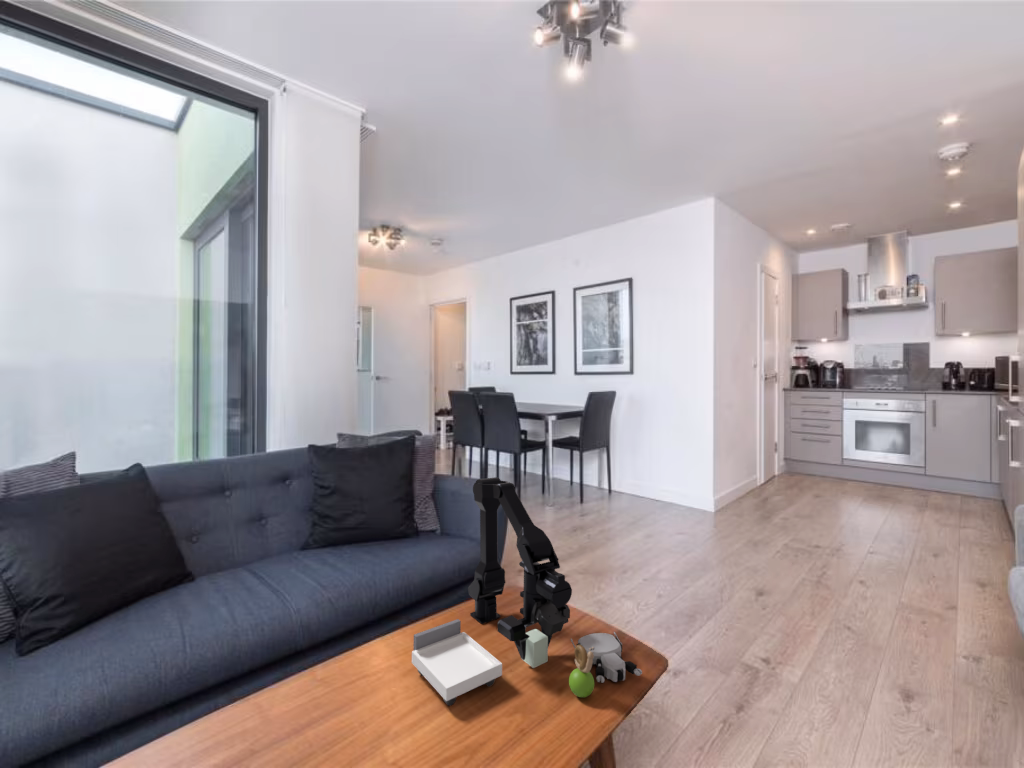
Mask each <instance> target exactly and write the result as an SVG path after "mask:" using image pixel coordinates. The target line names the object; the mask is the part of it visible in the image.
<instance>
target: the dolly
mask: <svg viewBox="0 0 1024 768" xmlns="http://www.w3.org/2000/svg"><path fill="white" fill-rule="evenodd" d="M461 624H462V623H461V620H460V619H459V618H457V619H454V620H451V621H449V622H445V623H444V624H440V625H438V626H434V627H431V628H429V629H426V630H424V631H420V632H417V633H415V634H413V650H412V651H411V664H412V665H413V666H414V667H415V668H416V669H417V673H418V674H419V675H420V676H422V677H424V678H425V679H426V681H428V683H429V684H430V685H431V686H432V688H434V689H435V690H436V692H437V693H438V694H439V695H440V696H441V697H442V698H443V701H444V702H445V704H446V705H447V706H449V707H450V706H452V705H454V704H455V703H456V700H457V697H458V696H461V695H463V694H466V693H467V692H469V691H472V690H475V689H476V688H478V687H480V686H482V685H486V686H487V687H493V685H494V684H495V682H496V679H497V678H499V677H501V676H503V663H502V662H501V661H500V660H499V659H497V658H496V656H494V655H492V654H491V652H489V651H488V650H487V649H486V648H484V647H483V646H482V645H481V644H479V643H478V642H477V641H476V640H475V639H473V638H472V637H471V636H470V635H469V634H468V633H466V632H465V631H463V632H461Z"/></svg>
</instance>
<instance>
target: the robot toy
mask: <svg viewBox="0 0 1024 768" xmlns="http://www.w3.org/2000/svg"><path fill="white" fill-rule="evenodd" d="M613 634H614V635H613ZM613 634H610V633H608V632H607V633H605V632H595V633H590V634H587V635H584V636H582V637H579V639H578V640H577V643H576V644H574V641H573V638H570V642H571V643H572V646H573V648H574V649H575V647H576V646H577V645H582V646H583V647H584V648H585V649H586V651H587V654H588V652H589V651H590V650H589V649H590V648H592V647H594V651H593V650H592V651H591V652H593V654H594V657H593V663H592V665H596V668H595V679H596V682H597V683H605V678H606V679H607V680H611V681H612V682H614V683H618V682H622V681H623V682H624V681H625V680H626V672H628V673H630V675H635V676H639V677H640V676H641V675H643V670H641V669H640V668H638V666H637V664H635V663H633V662H632V661H625V660H623V657H622V652H623V642H621V640H620V639H619V638H618V635H617V633H616V632H615V631H613Z"/></svg>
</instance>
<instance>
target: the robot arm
mask: <svg viewBox="0 0 1024 768" xmlns="http://www.w3.org/2000/svg"><path fill="white" fill-rule="evenodd" d="M514 484H515V483H512V482H510V481H507V480H501V479H500V477H498V476H497V477H496V476H495V477H488V478H478V479H477V480H476V481H475V482H474V483H473V485H472V493H473V500H474V502H475V504H476V506H477V507H478V508H479V516H480V517H479V523H480V524H479V525H480V526H479V530H480V531H479V533H480V534H479V535H480V536H479V537H480V538H479V539H480V543H479V545H480V546H479V547H480V554H479V555H480V557H479V559H480V561H479V563H478V564H477V566H476V568H475V570H474V579H473V581H472V582H471V583H470V584H469V585H468V587H467V590H468V596H469V597H471V598H472V600H474V611H472V612H470V616H471V617H472V618H473V619H475V620H476V621H477V622H478V623H480V624H481V625H484V624H486V623H490V622H491V621H495V620H497V619H499V620H498V621H497V632H498V633H499V634H500V635H502V636H503V637H505V638H506V639H507V640H508V641H510V642H513V643H514V644H515V646H516V650H517V652H518V655H519V657H520V659H521V658H522V659H523V660H525V656H526V640H527V639H528V638H529V637H530V636H529V635H527V634H526V632H527V631H526V630H527V627H530V626H534V625H535V624H538V625H539V627H540V630H541V631H540V632H542V633H543V634H545V635H546V636H548V647H550V643H551V640H552V638H553V635H554V634H556V633H559V632H562V630H563V628H564V625H566V624H568V623H569V619H570V618H571V609H570V607H569V605H567V604H568V603H569V602H570V600H571V597H572V593H573V589H572V587H571V584H570V582H568V581H567V580H566V576H565V575H564V574H563V573H562V572H561V573H560V572H558V571H556V570H558V569H560V568H561V565H560V562H559V558H558V556H557V554H556V552H555V549H554V547H553V546H554V545H553V543H552V542H551V540H550V538H549V537H548V536H547V534H546V533H545V532H544V530H542V528H539V527H538V526H536V524H535V523H534V522H533V520H532V519H531V517H530V515H529V514H528V512H527V510H526V508H525V506H524V504H523V502H522V500H521V499H520V497H519V494H517V492H516V486H515V485H514ZM500 506H501V507H502V509H503V511H504V513H505V515H506V517H507V519H508V521H509V523H510V524H511V526H512V528H513V531H514V532H515V535H516V543H515V544H516V548H517V551H518V555H519V556H520V559H521V561H520V562H519V564H518V565H519V566H520V567H521V568H522V569H523V590H522V591H520V592H519V597H522V599H523V600H522V601H523V605H522V606H523V607H521V608H519V614H521V615H522V616H523V617H522V618H519V619H518V618H516V617H515V616H514V615H512V614H511V615H509V616H506V617H504V618H501V616H502V615H501V614H499V613H498V612H497V611H498V609H497V605H498V604H497V596H500V595H503V593H504V588H505V584H506V583H507V582H506V570H505V569H504V568H503V567H502V566H501V564H500V562H499V558H498V557H499V554H498V553H499V548H498V546H499V543H498V542H499V541H498V540H499V539H498V536H499V535H498V533H499V532H498V531H499V530H498V526H499V525H498V524H499V523H498V522H499V521H498V509H499V508H500ZM547 560H548V561H547ZM543 561H547V562H543ZM539 562H543V563H539ZM500 618H501V619H500ZM522 659H521V660H522ZM523 660H522V661H523Z"/></svg>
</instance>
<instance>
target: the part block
mask: <svg viewBox="0 0 1024 768" xmlns="http://www.w3.org/2000/svg"><path fill="white" fill-rule="evenodd" d="M526 634H527V635H529V636H530V637H529V638H528V639H527V640H526V656H525V660H523V659H522V658H521V657H520V659H521V660H522V661H523V662H525V663H526V664H527V665H528V666H530V667H531V668H532V669H535V668H537V667H539V666H541V665H543V664H545V663H547V662H548V659H549V658H548V657H549V656H548V655H549V653H548V650H549V646H548V636H546V635H545V634H543V633H542V632H541V631H540V629H537V628H534V629H531V630H529V631H526Z"/></svg>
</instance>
